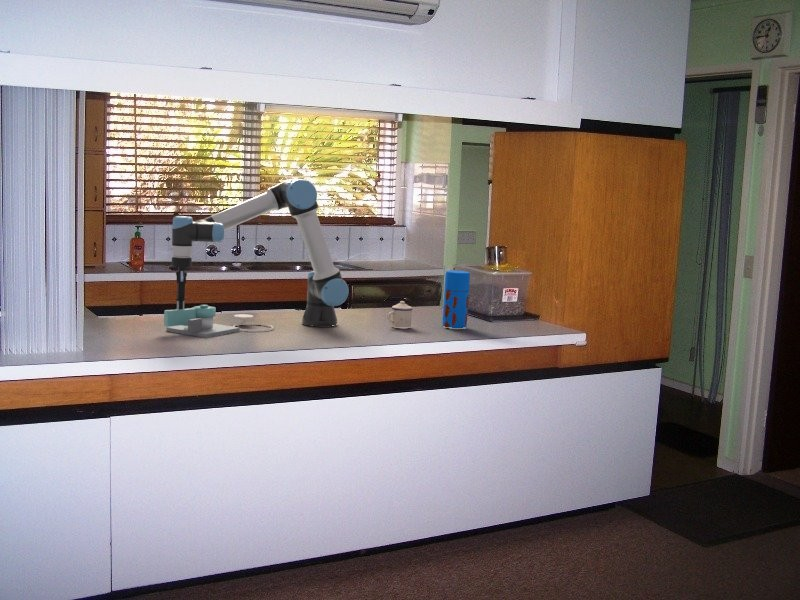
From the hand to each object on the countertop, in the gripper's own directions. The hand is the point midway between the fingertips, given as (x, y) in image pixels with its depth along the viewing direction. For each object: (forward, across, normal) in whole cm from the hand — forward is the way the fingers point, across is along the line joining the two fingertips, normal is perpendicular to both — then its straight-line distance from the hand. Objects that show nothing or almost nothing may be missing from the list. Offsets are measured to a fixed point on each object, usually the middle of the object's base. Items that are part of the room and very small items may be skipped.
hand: (180, 316), depth 334 cm
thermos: (+6, -14, +119) cm, 120 cm away
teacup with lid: (+6, -13, +92) cm, 94 cm away
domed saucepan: (+3, +1, +4) cm, 5 cm away
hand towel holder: (+7, -11, +29) cm, 31 cm away
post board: (+6, -1, +8) cm, 10 cm away
